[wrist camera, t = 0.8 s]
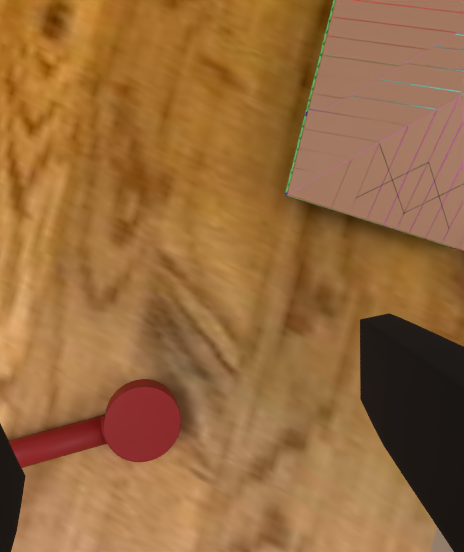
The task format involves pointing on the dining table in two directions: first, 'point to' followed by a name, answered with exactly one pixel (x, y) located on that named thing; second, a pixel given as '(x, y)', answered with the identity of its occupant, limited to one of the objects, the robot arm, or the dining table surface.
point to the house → (388, 118)
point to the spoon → (113, 428)
